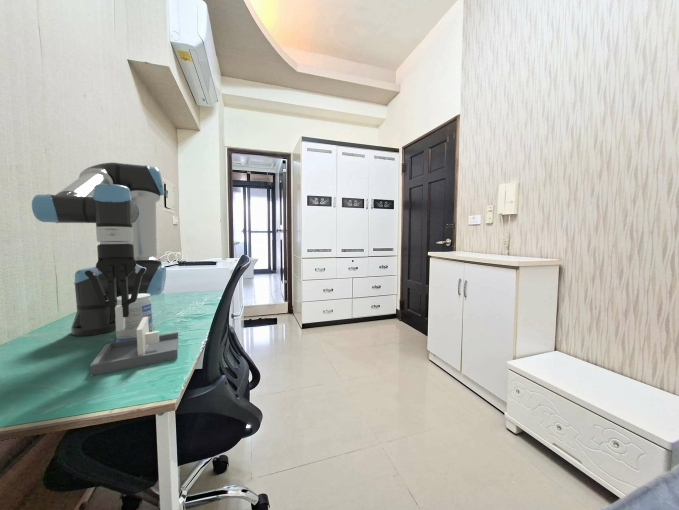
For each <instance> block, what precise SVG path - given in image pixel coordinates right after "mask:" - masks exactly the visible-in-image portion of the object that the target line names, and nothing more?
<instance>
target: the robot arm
mask: <svg viewBox="0 0 679 510" xmlns="http://www.w3.org/2000/svg"><path fill="white" fill-rule="evenodd" d="M162 178H163V177H162V175H161V171H160V169H159V168H158V167H156V166H151V165H148V164H147V165H141V164H131V163H130V164H129V163H119V162H105V163H98V164H94V165H92V166H89V167H87V168H85V169H83V170H82V171H81V172H80V174H79V176H78V178H77V179H75V180H74V181H73V182H72V183H70V184H69V185H67V186H66V187H64V188H63V189H62V190H60V191H59V192H58V193H56V194H49V193H48V194H37V195H35V196H34V197H33V198H32V201H31V210H32V213H33V216H34V217H35V219H36V220H37V221H40V222H43V223H53V224H54V223H56V224H95V231H96V242H98V243H99V244H98V245H97V246H96V248H97V251H96V252H97V262H95V263H96V264H95V266H91V267H86V268H80V269H78V270H77V271H75V273H74V283H73V285H74V289H75V291H74V293H75V303H76V313H75V316H74V319H73V322H72V325H71V327H70V332H71V335H72V336H74V337H75V336H76V337H80V336H82V337H85V336H94V335H95V336H96V335H100V334H105V333H106V334H107V333H110V332H116V331H122V330H124V329H125V317H128V316H129V304H131V303H134V302H135V301H136V300H137V296H138V294H142V293H146V294H150V296H153V297H154V296H158V295H159V296H160V295H161V294H162V293H163V292H164V288H165V285H166V278H167V267H166V266H165V265H163V264H162V260H160V259H159V258H158V253H157V252H158V250H157V249H158V248H157V247H158V245H157V203H158V202H159V201H160V200H161V196H164V195H165V189H164V184H163V179H162ZM130 294H131V298H130V299H129V295H130ZM119 296H121V299H122V304H121V305H117V303H118V302H117V297H119ZM115 318H116V325H115Z"/></svg>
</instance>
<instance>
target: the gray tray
mask: <svg viewBox="0 0 679 510" xmlns="http://www.w3.org/2000/svg"><path fill="white" fill-rule="evenodd" d="M178 353H179V332H178V331H175V332H169V333H163V334H159V342H158V343H152V344H149V345H148V348H147V351H146V354H143V355H138V348H137V338H136V339H130V340H124V341H118V342H117V341H112V342H106V343H105V344H104V346H103V347H102V349H101V350H100V351H99V353H98V354H97V355H96V357H95V358H94V360H93V361H92V362H91V364H90V365H89V369H90V370H89V373H90V377H92V376H96V375H101V374H107V373H111V372H115V371H117V372H118V371H121V370H126V369H130V368H132V369H133V368H137V367H141V366H146V365H147V366H148V365H151V364H156V363H161V362H167V361H172V360H177V359H178V355H179V354H178Z"/></svg>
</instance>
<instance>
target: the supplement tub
mask: <svg viewBox="0 0 679 510" xmlns="http://www.w3.org/2000/svg"><path fill="white" fill-rule="evenodd" d="M130 298H131V294H130V295H129V299H130ZM117 302H118V303H117V305H121V304H122V299H121V296H119V297H117ZM152 307H153V304H152V297H151V296H150V294H146V293H142V294H138V296H137V300H136V301H135V302H134V303H131V304H129V316H128V317H125V329H124V330H122V331H116V330H115V335H116V336H115V338H116V342H118V341H124V340H130V339H136V338H137V331H136V330H137V328H138V326H139V324H140V322H141V320H142V318H143V317H148V324H149V332H153V331H154V327H153V325H154V324H153V322H154V321H153V308H152ZM115 325H116V318H115Z"/></svg>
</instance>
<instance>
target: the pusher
mask: <svg viewBox="0 0 679 510" xmlns="http://www.w3.org/2000/svg"><path fill="white" fill-rule="evenodd" d="M136 331H137V348H138V355H143V354H146V351H147V348H148V345H149V344H152V343H158V342H159V335H160V330H153V332H149V324H148V317H143V318H142V320H141V322H140V324H139V326H138V328H137V330H136Z"/></svg>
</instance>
